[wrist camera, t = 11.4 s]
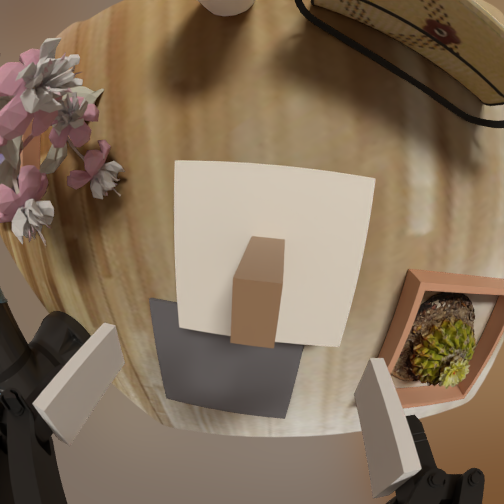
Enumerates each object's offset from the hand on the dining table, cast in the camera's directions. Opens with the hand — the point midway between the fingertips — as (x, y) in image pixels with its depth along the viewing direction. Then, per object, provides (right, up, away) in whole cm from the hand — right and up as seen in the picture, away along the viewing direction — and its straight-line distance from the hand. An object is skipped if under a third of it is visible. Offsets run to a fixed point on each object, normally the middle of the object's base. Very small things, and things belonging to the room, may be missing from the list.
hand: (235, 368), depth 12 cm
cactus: (+29, -8, +21) cm, 37 cm away
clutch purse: (+19, +29, +9) cm, 36 cm away
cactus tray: (+31, -8, +21) cm, 38 cm away
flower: (-20, +21, +18) cm, 34 cm away
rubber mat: (-3, -12, +27) cm, 30 cm away
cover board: (+2, +5, +14) cm, 15 cm away
